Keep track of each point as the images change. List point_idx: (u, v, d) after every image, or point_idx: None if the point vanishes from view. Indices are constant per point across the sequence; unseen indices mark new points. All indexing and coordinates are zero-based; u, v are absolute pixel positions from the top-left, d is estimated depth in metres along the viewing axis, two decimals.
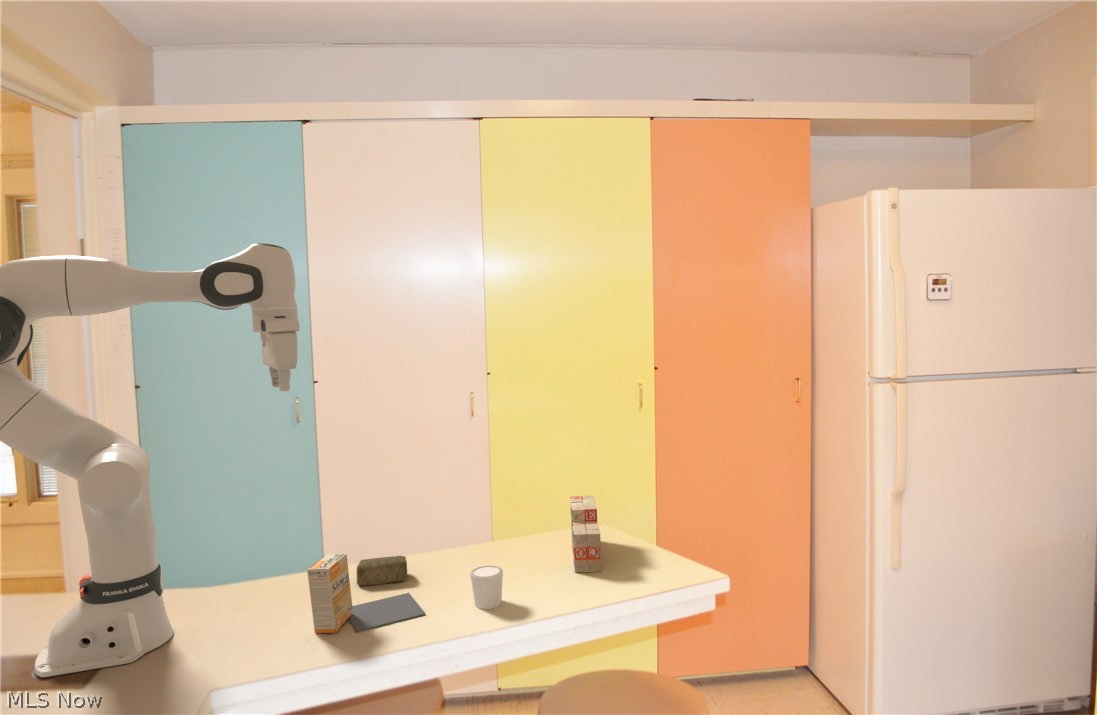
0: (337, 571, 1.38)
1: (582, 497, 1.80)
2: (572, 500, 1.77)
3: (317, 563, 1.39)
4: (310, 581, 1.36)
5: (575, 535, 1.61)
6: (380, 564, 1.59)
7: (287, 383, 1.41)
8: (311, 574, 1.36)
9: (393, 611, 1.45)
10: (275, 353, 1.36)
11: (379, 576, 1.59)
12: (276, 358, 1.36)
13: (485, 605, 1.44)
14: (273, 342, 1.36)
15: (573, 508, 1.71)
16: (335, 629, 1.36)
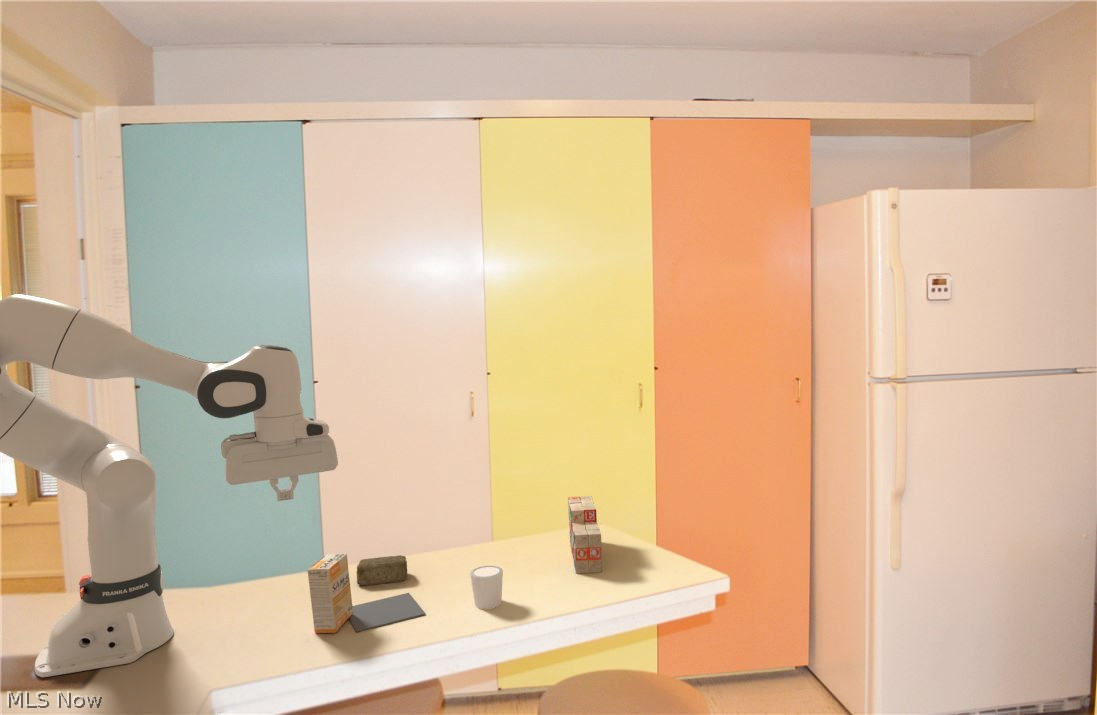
0: (337, 571, 1.38)
1: (580, 498, 1.80)
2: (570, 501, 1.77)
3: (317, 563, 1.39)
4: (310, 581, 1.36)
5: (576, 536, 1.60)
6: (380, 564, 1.60)
7: None
8: (311, 574, 1.36)
9: (393, 611, 1.45)
10: (336, 453, 1.37)
11: (379, 576, 1.59)
12: (336, 458, 1.37)
13: (485, 605, 1.44)
14: (333, 443, 1.36)
15: (572, 509, 1.70)
16: (335, 629, 1.36)
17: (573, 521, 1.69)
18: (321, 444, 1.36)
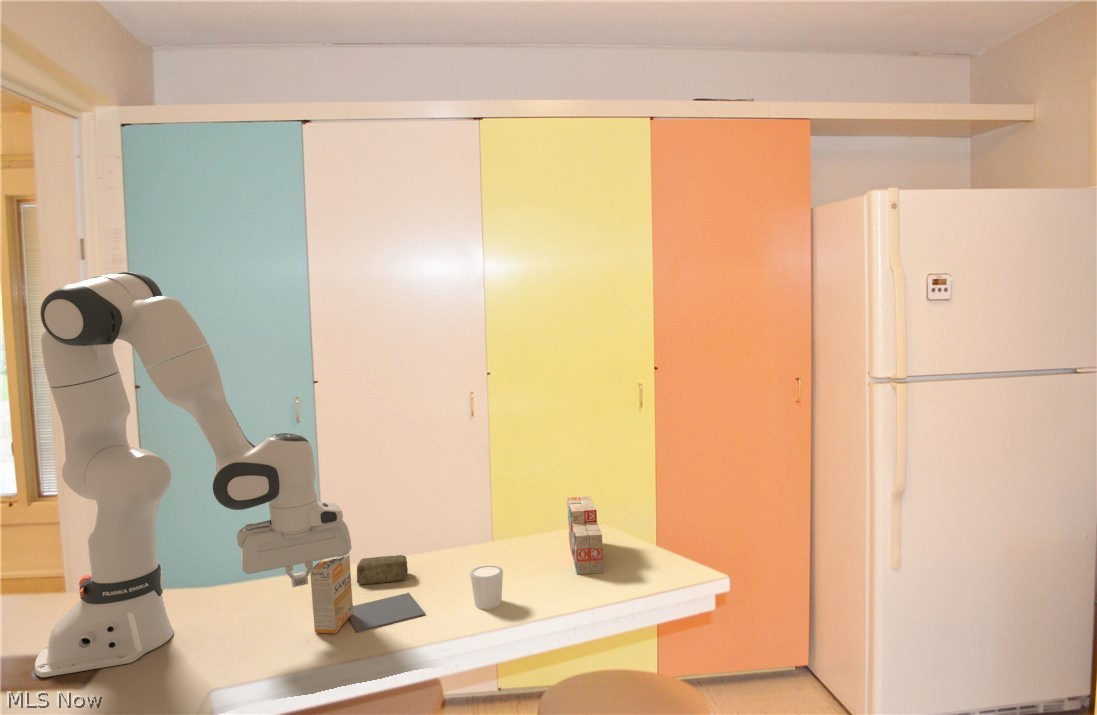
0: (340, 572, 1.38)
1: (579, 498, 1.79)
2: (570, 501, 1.76)
3: (320, 563, 1.38)
4: (312, 581, 1.35)
5: (577, 536, 1.60)
6: (380, 563, 1.60)
7: None
8: (314, 575, 1.35)
9: (393, 611, 1.45)
10: (349, 538, 1.39)
11: (379, 575, 1.60)
12: (350, 542, 1.39)
13: (485, 605, 1.44)
14: (347, 528, 1.38)
15: (572, 509, 1.70)
16: (335, 630, 1.36)
17: (573, 522, 1.69)
18: (335, 530, 1.37)
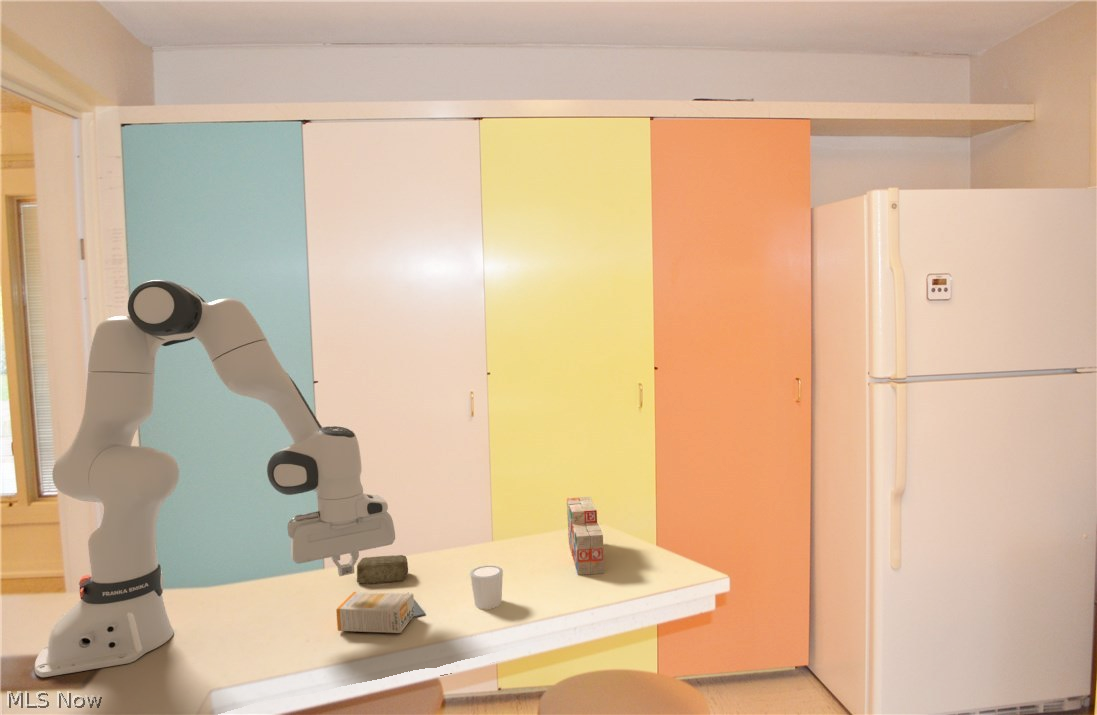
0: None
1: (579, 498, 1.79)
2: (570, 502, 1.76)
3: (404, 606, 1.37)
4: (387, 612, 1.34)
5: (578, 537, 1.59)
6: (379, 563, 1.60)
7: None
8: (394, 615, 1.34)
9: None
10: (393, 528, 1.43)
11: (378, 575, 1.60)
12: (394, 533, 1.43)
13: (485, 605, 1.44)
14: (391, 519, 1.43)
15: (573, 510, 1.69)
16: None
17: (573, 522, 1.68)
18: (380, 521, 1.42)
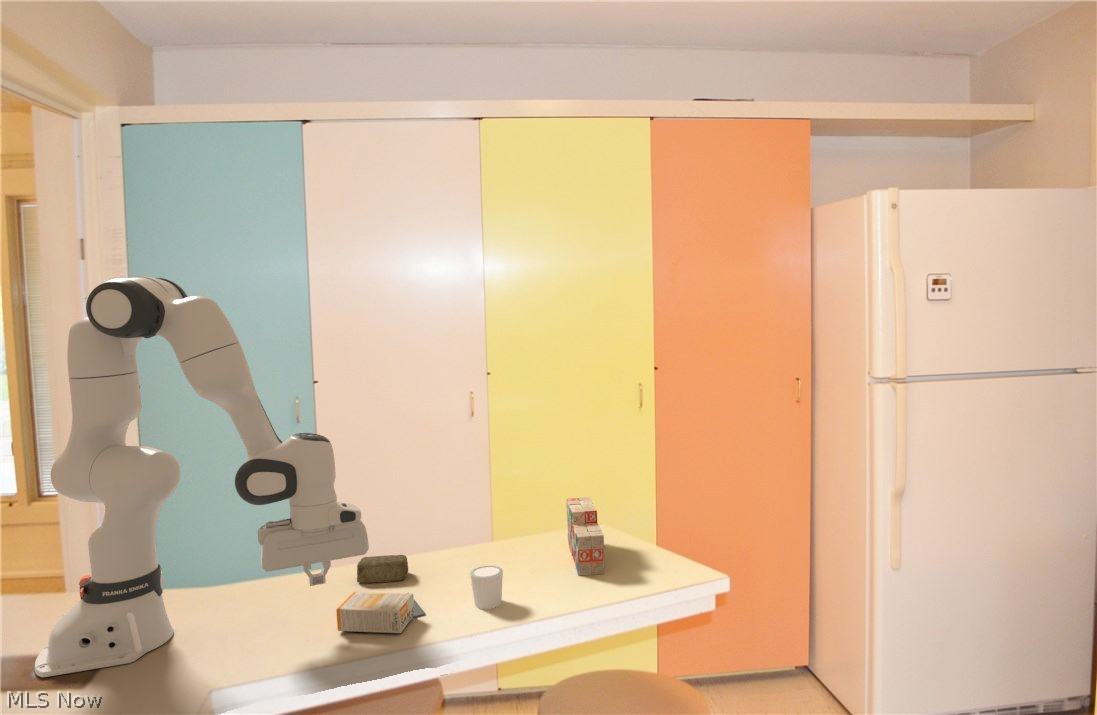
0: None
1: (579, 499, 1.78)
2: (569, 502, 1.75)
3: (404, 607, 1.37)
4: (387, 613, 1.34)
5: (579, 537, 1.59)
6: (379, 562, 1.61)
7: None
8: (394, 615, 1.34)
9: None
10: (367, 538, 1.41)
11: (378, 574, 1.60)
12: (367, 543, 1.41)
13: (485, 605, 1.44)
14: (365, 528, 1.40)
15: (573, 510, 1.69)
16: None
17: (574, 523, 1.68)
18: (353, 529, 1.39)
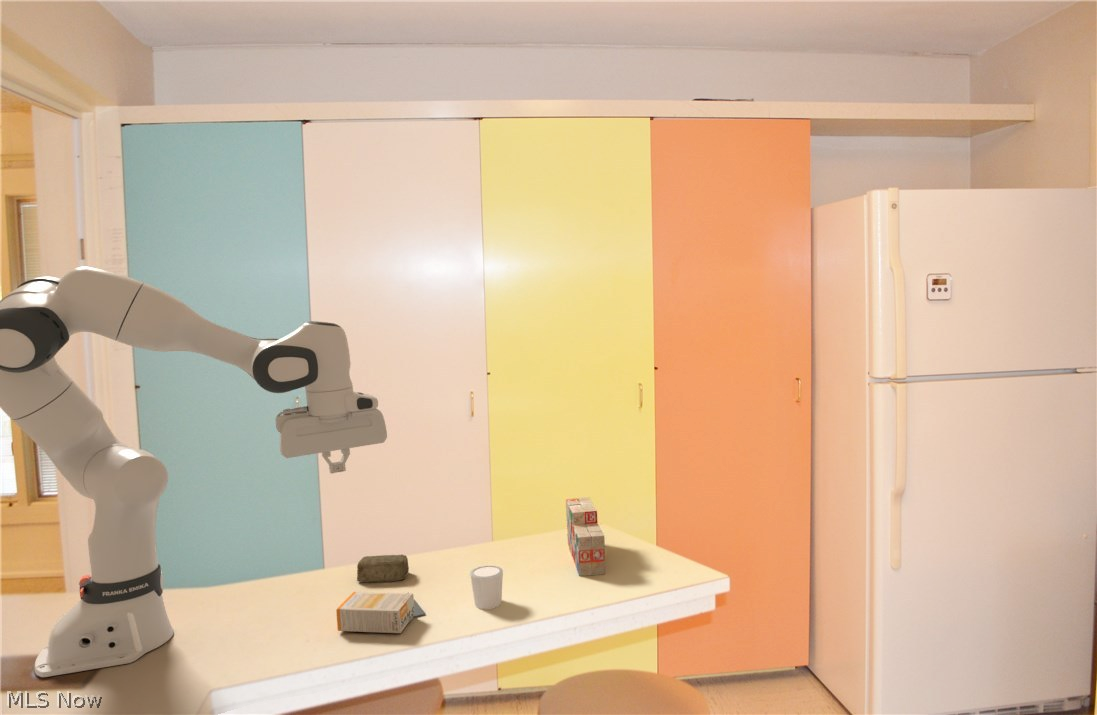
0: None
1: (578, 499, 1.78)
2: (569, 503, 1.75)
3: (404, 607, 1.37)
4: (387, 613, 1.34)
5: (579, 538, 1.59)
6: (379, 562, 1.61)
7: None
8: (394, 615, 1.34)
9: None
10: (385, 426, 1.40)
11: (378, 574, 1.61)
12: (385, 431, 1.40)
13: (485, 605, 1.44)
14: (382, 416, 1.39)
15: (573, 511, 1.69)
16: None
17: (574, 523, 1.67)
18: (371, 417, 1.39)
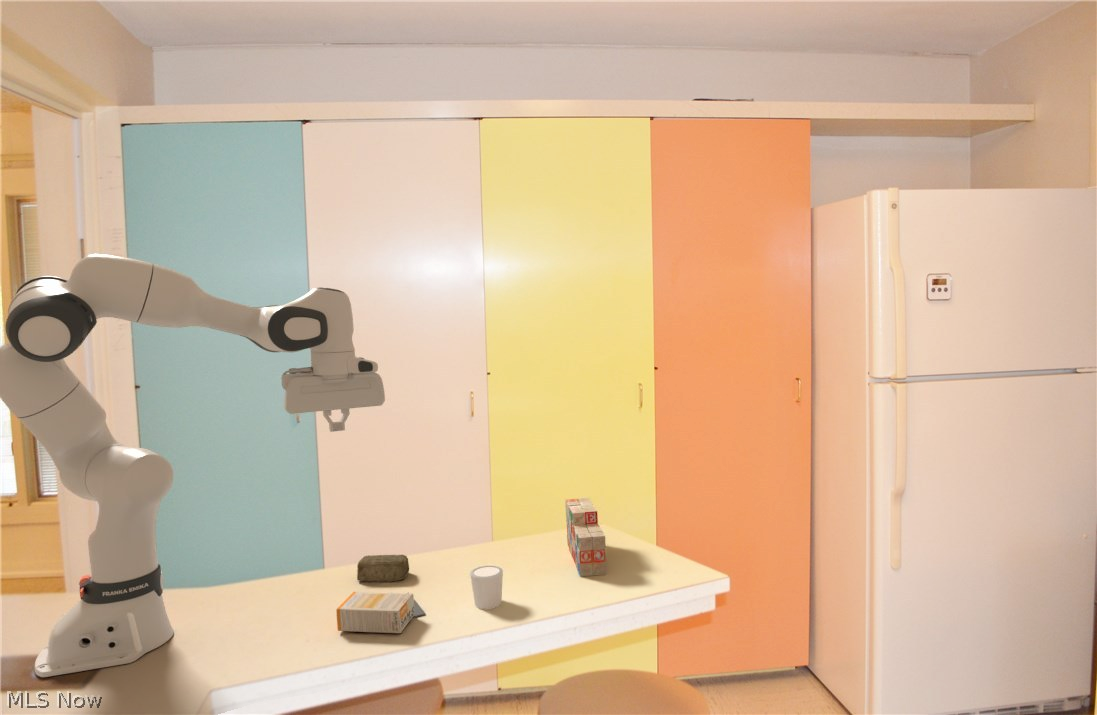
0: None
1: (578, 500, 1.78)
2: (569, 503, 1.75)
3: (404, 607, 1.37)
4: (387, 613, 1.34)
5: (580, 538, 1.58)
6: (379, 562, 1.61)
7: None
8: (394, 615, 1.34)
9: None
10: (383, 390, 1.49)
11: (377, 574, 1.61)
12: (383, 394, 1.50)
13: (485, 605, 1.44)
14: (381, 380, 1.49)
15: (573, 511, 1.68)
16: None
17: (574, 524, 1.67)
18: (370, 381, 1.48)
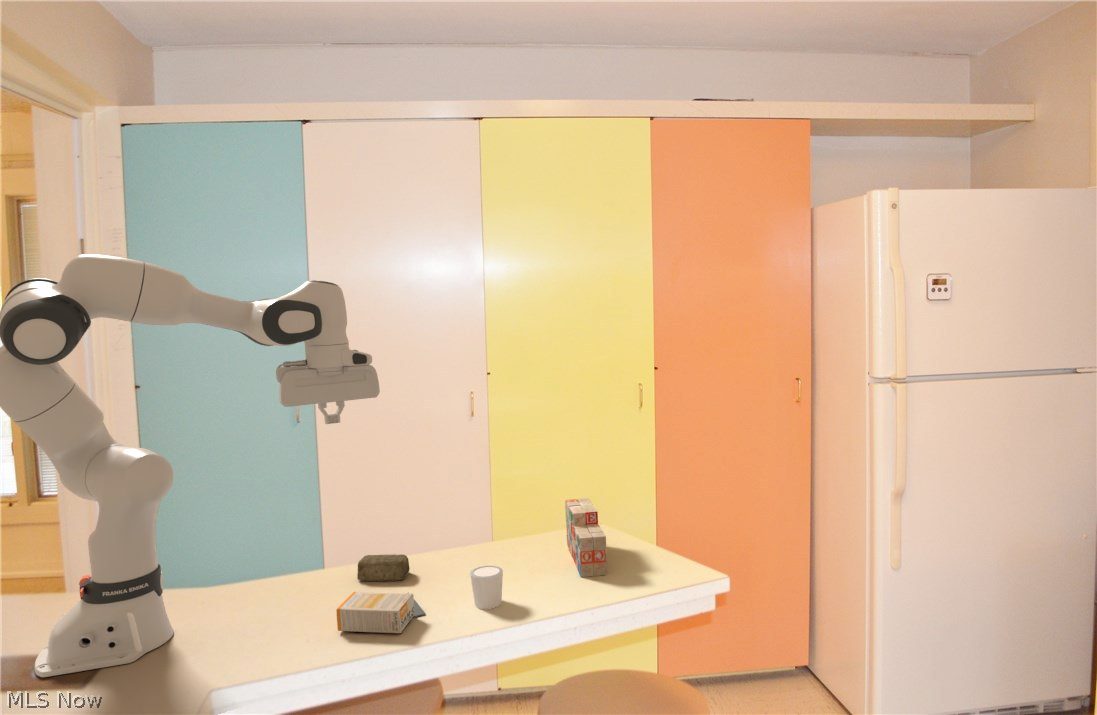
0: None
1: (578, 500, 1.78)
2: (569, 503, 1.74)
3: (404, 607, 1.37)
4: (387, 613, 1.34)
5: (581, 539, 1.58)
6: (379, 561, 1.61)
7: None
8: (394, 615, 1.34)
9: None
10: (378, 382, 1.50)
11: (377, 573, 1.61)
12: (378, 386, 1.50)
13: (485, 605, 1.44)
14: (376, 372, 1.49)
15: (573, 511, 1.68)
16: None
17: (574, 524, 1.67)
18: (365, 373, 1.49)
